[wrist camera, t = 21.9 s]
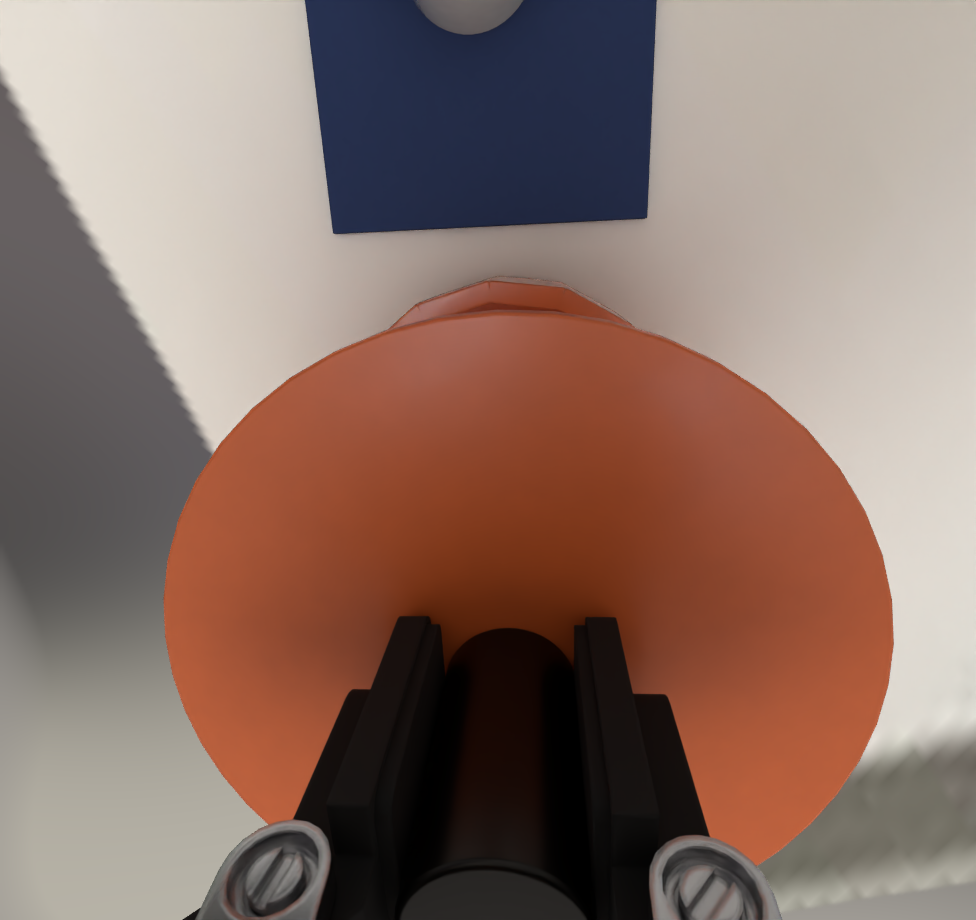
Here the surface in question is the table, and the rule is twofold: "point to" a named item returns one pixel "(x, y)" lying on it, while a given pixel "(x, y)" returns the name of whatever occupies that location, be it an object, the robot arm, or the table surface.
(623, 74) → the towel
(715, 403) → the pot lid
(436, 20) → the salt shaker
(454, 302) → the pot
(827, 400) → the table surface
